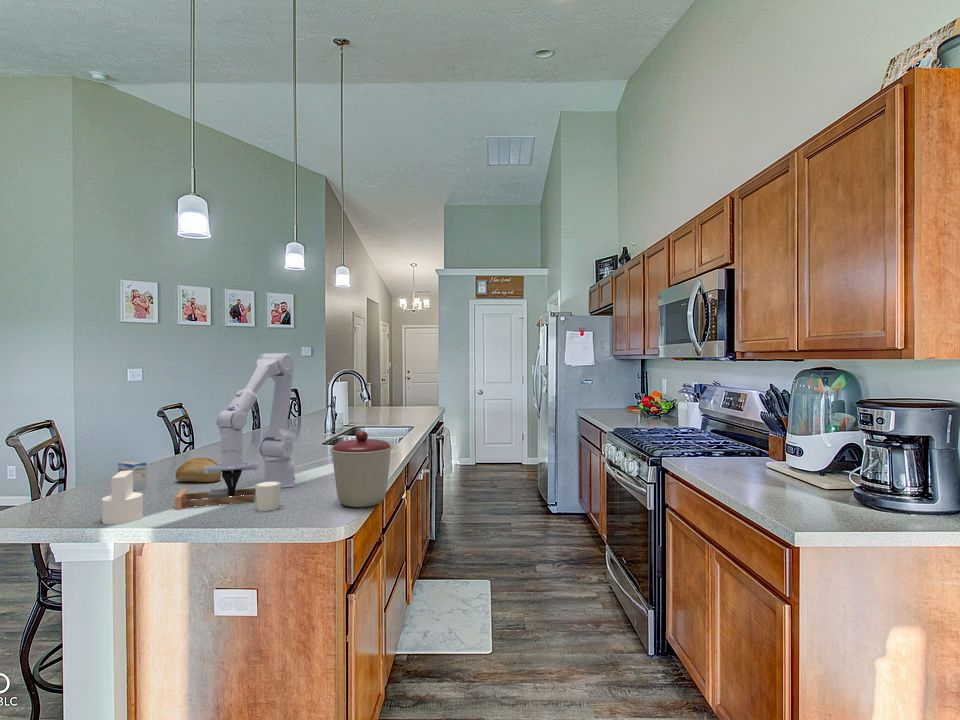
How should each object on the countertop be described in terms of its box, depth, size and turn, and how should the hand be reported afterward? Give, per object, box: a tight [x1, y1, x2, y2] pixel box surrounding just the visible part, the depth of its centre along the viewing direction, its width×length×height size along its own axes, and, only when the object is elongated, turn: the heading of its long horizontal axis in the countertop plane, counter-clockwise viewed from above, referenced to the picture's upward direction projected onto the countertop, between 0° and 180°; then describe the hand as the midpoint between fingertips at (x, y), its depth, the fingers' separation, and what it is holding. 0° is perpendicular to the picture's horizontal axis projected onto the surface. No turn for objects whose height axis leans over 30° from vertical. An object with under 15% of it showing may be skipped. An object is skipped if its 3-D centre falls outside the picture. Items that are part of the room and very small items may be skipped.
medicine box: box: [117, 460, 148, 492], centre depth 176 cm, size 8×4×9 cm, turn 68°
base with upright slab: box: [101, 470, 144, 525], centre depth 143 cm, size 9×9×12 cm
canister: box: [329, 430, 394, 508], centre depth 158 cm, size 18×18×21 cm
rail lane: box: [174, 487, 256, 510], centre depth 160 cm, size 20×11×4 cm, turn 110°
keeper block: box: [208, 487, 229, 499], centre depth 160 cm, size 5×6×3 cm
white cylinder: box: [254, 481, 281, 512], centre depth 153 cm, size 7×7×7 cm
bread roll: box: [175, 457, 222, 483], centre depth 186 cm, size 10×15×8 cm, turn 91°
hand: (232, 495), depth 161 cm, fingers closed
